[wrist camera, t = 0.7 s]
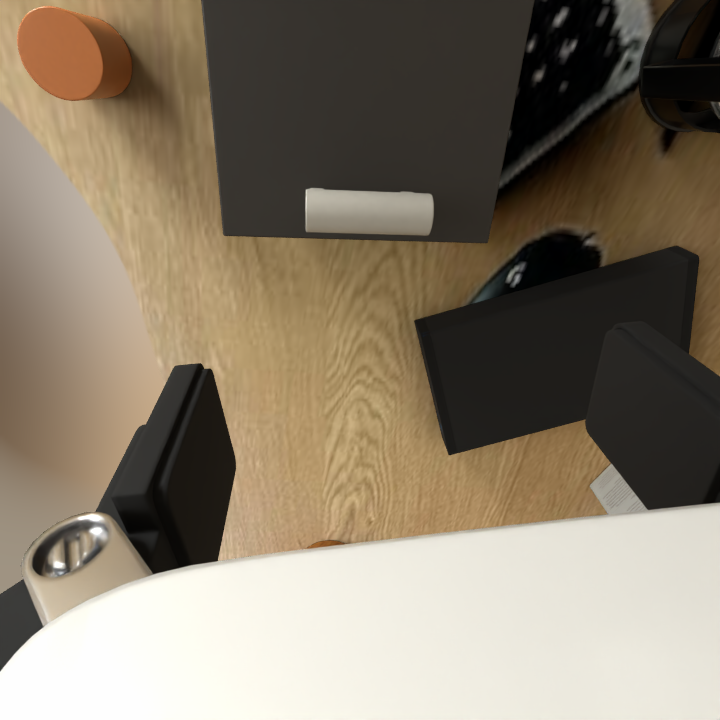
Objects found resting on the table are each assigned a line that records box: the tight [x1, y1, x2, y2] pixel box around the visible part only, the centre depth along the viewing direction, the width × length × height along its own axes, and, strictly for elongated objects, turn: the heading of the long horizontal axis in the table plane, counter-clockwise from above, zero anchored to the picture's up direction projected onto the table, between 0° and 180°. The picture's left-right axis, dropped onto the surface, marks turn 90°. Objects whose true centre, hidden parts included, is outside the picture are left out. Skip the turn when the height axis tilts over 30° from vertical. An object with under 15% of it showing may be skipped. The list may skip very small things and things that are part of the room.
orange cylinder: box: [17, 6, 132, 101], centre depth 28 cm, size 4×4×5 cm
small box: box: [590, 464, 647, 514], centre depth 50 cm, size 8×6×10 cm
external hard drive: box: [414, 246, 699, 455], centre depth 44 cm, size 14×23×3 cm, turn 105°
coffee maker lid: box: [201, 0, 534, 243], centre depth 19 cm, size 16×14×5 cm
